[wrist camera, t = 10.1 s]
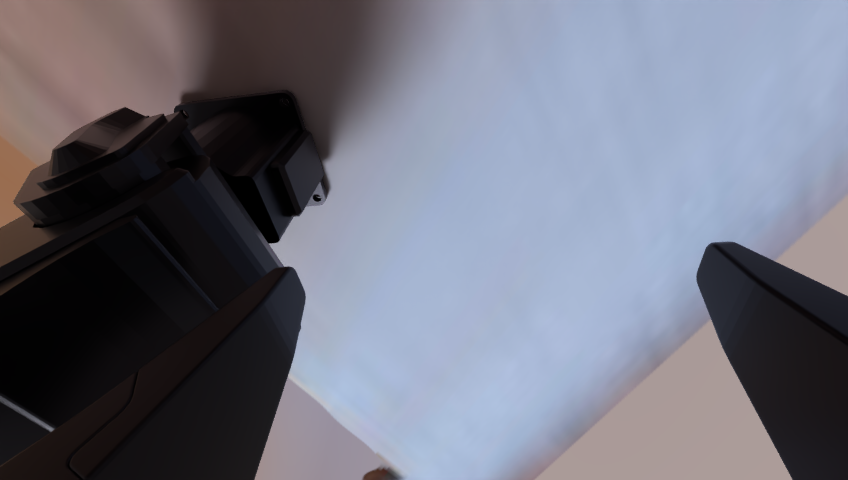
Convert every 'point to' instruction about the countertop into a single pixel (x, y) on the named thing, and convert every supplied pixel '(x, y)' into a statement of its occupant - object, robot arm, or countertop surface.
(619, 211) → the countertop surface
